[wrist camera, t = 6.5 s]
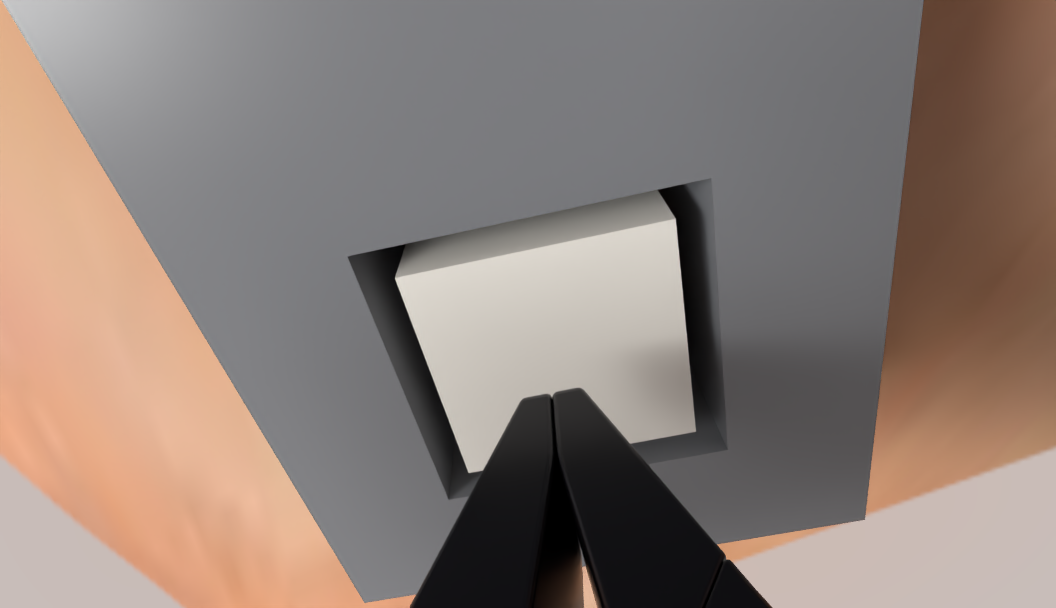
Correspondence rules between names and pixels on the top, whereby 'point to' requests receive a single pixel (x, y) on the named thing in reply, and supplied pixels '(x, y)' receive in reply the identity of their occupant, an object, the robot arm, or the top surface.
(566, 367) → the white peg
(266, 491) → the top surface
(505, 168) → the collar block
